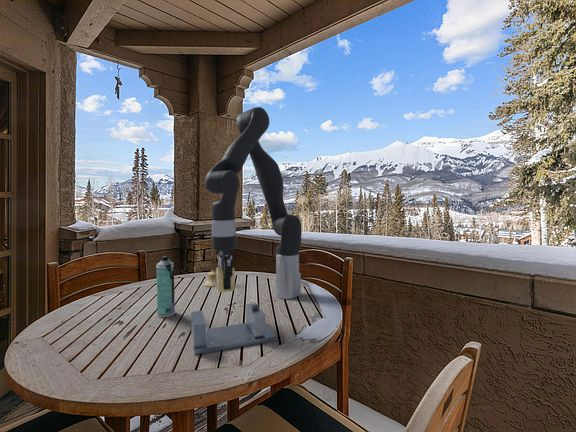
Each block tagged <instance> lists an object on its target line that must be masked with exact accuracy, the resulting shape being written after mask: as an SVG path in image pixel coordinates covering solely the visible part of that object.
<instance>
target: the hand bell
mask: <svg viewBox="0 0 576 432" xmlns="http://www.w3.org/2000/svg"><path fill="white" fill-rule="evenodd" d="M210 262H211V271H210V272H208V273H207V279H206V282H205V283H204V284H203V285H204V286H205V287H207V286H209V288H212V287H214V286H216V287H217V276H216V262H217V253H216V250H213V249H212V250H211V254H210Z"/></svg>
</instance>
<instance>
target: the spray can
mask: <svg viewBox="0 0 576 432" xmlns="http://www.w3.org/2000/svg"><path fill="white" fill-rule="evenodd" d="M156 297H157V298H156V302H157V303H156V305H157V308H156V310H157V317H159V318H168V317H172V316H174V315H175V310H176V309H175V306H176V305H175V304H176V303H175V265H174V262H172V261H171V260H170V259H169V257H168V255H164V256H162V258H161V260H160V261H159V262H158V263H156Z"/></svg>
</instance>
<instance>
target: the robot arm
mask: <svg viewBox="0 0 576 432" xmlns="http://www.w3.org/2000/svg"><path fill="white" fill-rule="evenodd" d="M236 125H237V129H238V132H239V134H240V135H239V136H238V137H237V138H236V139H235V140H234V141H233V142H232V143H231V144H230V145H229V146H228V148H227V149H226V151H225V153H224V155H223V157H222V159H221V160H219V161H218V162H217V163H216V164H215V165H214V166H213V167H212V168H211V169H210V170H209V171H208V173H207V174H206V176H205V179H204V181H205V182H204V184H205V188H206V190H207V191H208V192H209V193H211V194H222V197H221V198H220V200H216V201H213V203H212V205H211V247H212V250H215V252H217V251H218V253H216V257H217V261H218V263H217V265H218V268H221V270H222V271H223V288H224V290H229V289H231V277H232V275H233V268H234V259H233V255H232V254H231V251H232V250H235V249H237V226H236V220H235V219H236V217H235V216H236V214H235V213H236V212H235V206H236V201H237V197H238V192H239V189H240V179H239V176H238V174H239V173H240V172H241V170H242V169H243V166H244V165H245V163H246V160H247V159H248V158H249V157H250V159H251V162H252V165H253V168H254V171H255V173H256V176H257V179H258V183H259V186H260V188H261V191H262V193H263V197H264V200H265V202H266V206H267V208H268V212H269V218H270V222H271V225H272V229H273V231H274V232H275V234H277V235H278V236H279V237H280V244H279V245H278V246H277V247H276V249H275V260H276V261H275V270H276V271H275V276H276V277H275V279H276V283H275V284H276V285H275V293H276V294H275V295H276V297H277V298H278V299H283V300H291V299H292V298H293V299H296V298H295V297H297V296H299V297H301V296H300V295H302V294H301V293H302V292H301V289H302V288H301V287H302V285H301V284H302V283H301V282H302V277H301V275H302V274H301V272H300V260H299V259H300V249H301V246H302V231H303V230H302V222H301V219H300V217H298V216H297V215H294V214H289V213H288V211H287V208H286V206H285V202H284V179H283V176H282V172H281V170H280V166H279V164H278V163H277V162H276V160H275V159H274V158H273V157H272V156H270V154H269V153H267V152H266V151H265V149H264V148H263V147H262V145H261V143H260V141H259V140H260V139H261V137H262V136H264V134H265V133H266V132H267V130H268V128H269V127H270V116H269V115H268V112H267V111H266V109H264V108H263V107H261V106H256V107H252V108H250V109H247V110H245V111H243V112H241V113H239V114H238V115H237V118H236ZM223 267H224V268H223ZM226 271H229V273H226ZM297 298H298V297H297ZM293 299H292V300H293Z"/></svg>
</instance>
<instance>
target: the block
mask: <svg viewBox="0 0 576 432" xmlns="http://www.w3.org/2000/svg"><path fill="white" fill-rule="evenodd" d="M223 268H224V267H223ZM215 271H216V276H217V286H216V289H217V292H218V293H225V292H227V293H228V292H233V291H236V285H235V284H236V283H235V281H236V280H235V279H236V278H235V277H236V276H235V268H234V267H233V275H232V277H231V289H229V290H224V288H223V271H222V270H221V268H219V267H215ZM226 273H229V271H226Z"/></svg>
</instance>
